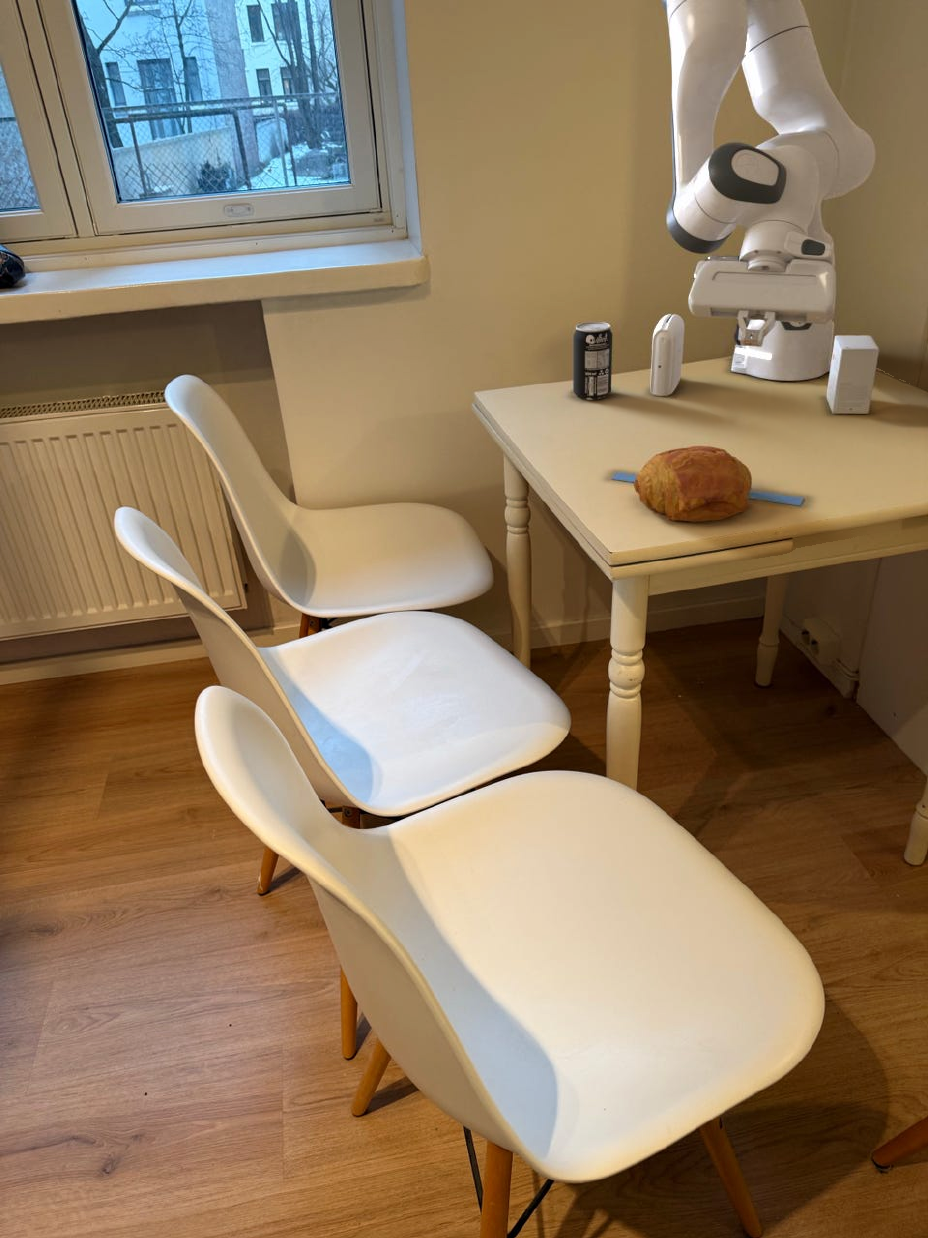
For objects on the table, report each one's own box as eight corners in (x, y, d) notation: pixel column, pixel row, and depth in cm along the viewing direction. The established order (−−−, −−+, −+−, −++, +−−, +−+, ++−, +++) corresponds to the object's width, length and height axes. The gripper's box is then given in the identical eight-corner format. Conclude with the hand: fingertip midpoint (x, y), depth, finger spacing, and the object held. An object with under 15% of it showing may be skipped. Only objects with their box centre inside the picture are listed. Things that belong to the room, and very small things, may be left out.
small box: (868, 414, 149) (880, 348, 143) (831, 414, 150) (841, 348, 144) (860, 398, 156) (871, 334, 150) (825, 397, 157) (835, 334, 151)
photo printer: (672, 397, 161) (676, 324, 155) (647, 395, 163) (650, 323, 156) (683, 379, 169) (688, 309, 163) (659, 377, 171) (663, 308, 164)
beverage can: (584, 386, 169) (585, 319, 162) (617, 391, 165) (619, 323, 159) (566, 397, 164) (566, 328, 158) (599, 403, 161) (600, 332, 155)
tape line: (617, 472, 135) (617, 472, 135) (803, 498, 125) (803, 497, 125) (611, 479, 134) (611, 478, 133) (800, 505, 123) (800, 505, 123)
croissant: (630, 497, 133) (624, 445, 129) (741, 476, 131) (738, 422, 127) (649, 542, 120) (642, 485, 116) (771, 519, 119) (769, 461, 115)
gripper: (696, 241, 136) (675, 327, 134) (845, 246, 128) (825, 337, 126) (701, 267, 142) (681, 349, 140) (844, 272, 134) (825, 360, 132)
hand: (750, 344), depth 133 cm, fingers closed
